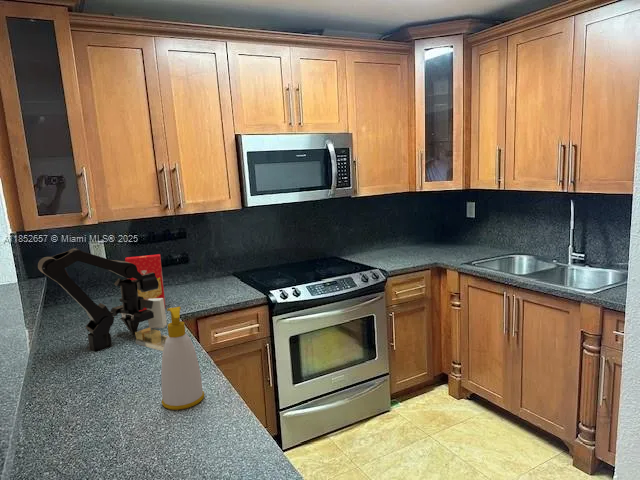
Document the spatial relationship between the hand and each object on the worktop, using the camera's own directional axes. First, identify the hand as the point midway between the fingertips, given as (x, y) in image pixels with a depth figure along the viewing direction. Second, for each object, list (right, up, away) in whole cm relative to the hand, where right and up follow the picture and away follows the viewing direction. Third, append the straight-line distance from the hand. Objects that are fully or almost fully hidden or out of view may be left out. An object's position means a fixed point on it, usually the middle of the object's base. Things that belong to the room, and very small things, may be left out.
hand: (134, 334), depth 167 cm
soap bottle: (+34, -8, -48) cm, 59 cm away
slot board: (+12, -2, -7) cm, 15 cm away
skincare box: (+5, 0, +11) cm, 12 cm away
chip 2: (+9, -2, -6) cm, 11 cm away
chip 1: (+6, -1, -3) cm, 7 cm away
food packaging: (-9, +4, +38) cm, 39 cm away
